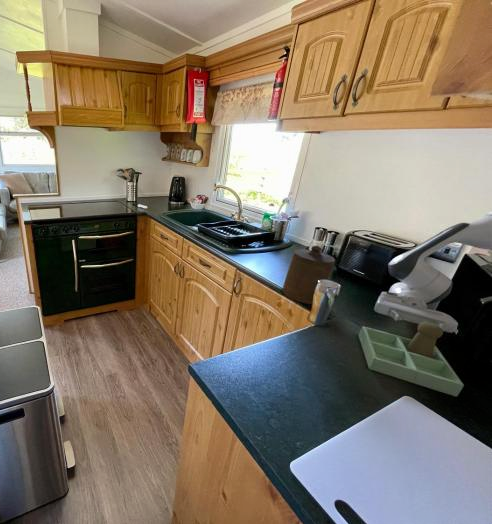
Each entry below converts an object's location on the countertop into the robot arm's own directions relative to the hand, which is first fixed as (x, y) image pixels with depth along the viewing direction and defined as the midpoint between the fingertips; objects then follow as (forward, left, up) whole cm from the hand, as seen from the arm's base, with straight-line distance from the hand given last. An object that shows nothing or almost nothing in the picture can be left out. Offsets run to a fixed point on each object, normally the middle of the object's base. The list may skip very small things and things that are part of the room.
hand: (417, 324), depth 89 cm
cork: (0, +7, -7) cm, 10 cm away
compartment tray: (+4, +12, -8) cm, 15 cm away
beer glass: (+26, +1, -8) cm, 27 cm away
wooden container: (+31, -19, -8) cm, 37 cm away
